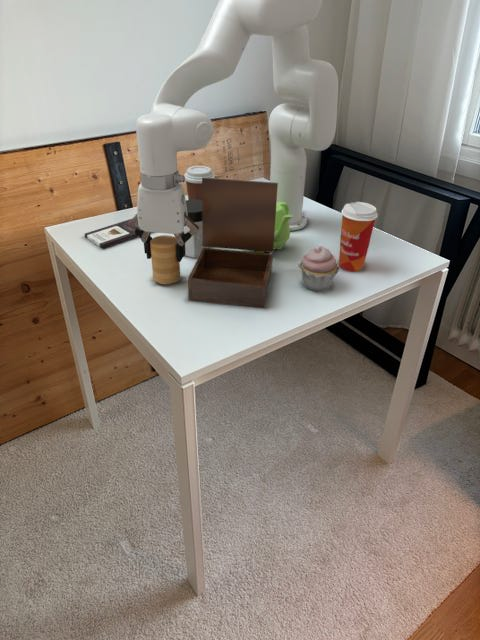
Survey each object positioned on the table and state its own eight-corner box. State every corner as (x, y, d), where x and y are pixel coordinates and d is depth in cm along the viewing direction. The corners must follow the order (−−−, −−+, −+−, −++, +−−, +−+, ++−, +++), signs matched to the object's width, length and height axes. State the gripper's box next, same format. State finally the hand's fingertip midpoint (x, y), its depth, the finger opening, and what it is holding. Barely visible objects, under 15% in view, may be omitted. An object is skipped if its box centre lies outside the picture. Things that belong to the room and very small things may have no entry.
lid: (277, 183, 109) (279, 177, 113) (201, 178, 111) (207, 172, 115) (273, 252, 117) (275, 244, 121) (202, 246, 119) (207, 238, 123)
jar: (187, 261, 125) (184, 215, 118) (171, 248, 130) (168, 203, 123) (218, 252, 129) (217, 207, 122) (202, 240, 134) (200, 196, 127)
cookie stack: (160, 268, 120) (157, 233, 115) (184, 273, 118) (182, 237, 113) (148, 281, 115) (144, 245, 110) (173, 286, 113) (170, 249, 108)
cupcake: (289, 278, 118) (292, 239, 113) (324, 272, 121) (329, 233, 115) (307, 298, 111) (312, 258, 106) (344, 291, 114) (351, 251, 108)
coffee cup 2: (327, 261, 126) (335, 203, 117) (355, 255, 128) (364, 198, 120) (346, 276, 119) (355, 217, 111) (375, 270, 122) (386, 212, 114)
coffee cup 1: (206, 201, 156) (205, 162, 149) (221, 211, 150) (220, 171, 143) (180, 206, 152) (177, 167, 146) (193, 217, 146) (191, 176, 139)
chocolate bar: (160, 225, 139) (102, 245, 129) (160, 228, 139) (102, 248, 129) (141, 215, 144) (84, 233, 134) (141, 218, 145) (85, 236, 134)
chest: (264, 308, 108) (265, 287, 105) (188, 300, 110) (187, 279, 107) (271, 273, 120) (273, 253, 117) (203, 267, 122) (203, 247, 119)
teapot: (299, 238, 136) (303, 193, 129) (288, 262, 125) (292, 214, 118) (241, 230, 139) (242, 186, 132) (226, 253, 128) (226, 206, 121)
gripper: (204, 176, 105) (206, 253, 116) (125, 170, 107) (133, 246, 118) (196, 188, 99) (199, 269, 110) (112, 182, 101) (122, 261, 112)
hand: (165, 256), depth 114 cm, fingers closed on cookie stack, 6 cm apart
